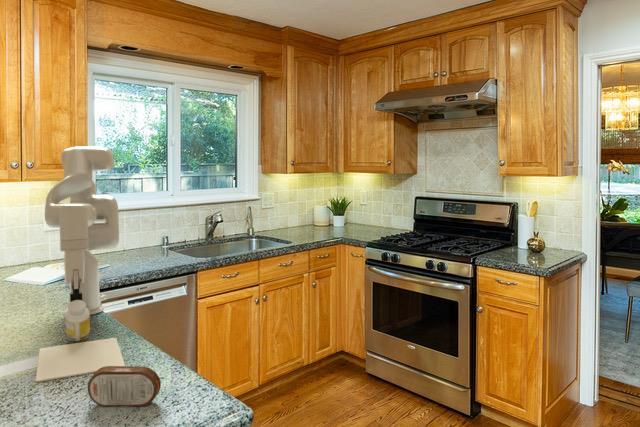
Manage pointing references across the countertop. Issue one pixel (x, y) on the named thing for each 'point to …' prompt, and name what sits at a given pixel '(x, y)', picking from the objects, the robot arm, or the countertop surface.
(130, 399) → the tin
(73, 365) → the mat
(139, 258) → the countertop surface
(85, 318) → the pill bottle
